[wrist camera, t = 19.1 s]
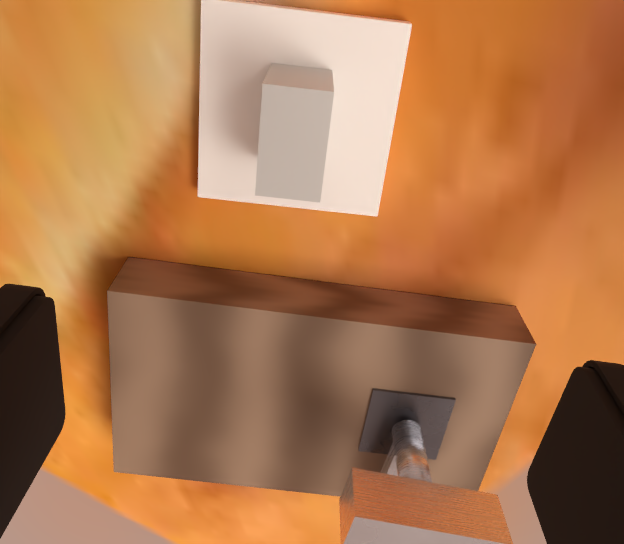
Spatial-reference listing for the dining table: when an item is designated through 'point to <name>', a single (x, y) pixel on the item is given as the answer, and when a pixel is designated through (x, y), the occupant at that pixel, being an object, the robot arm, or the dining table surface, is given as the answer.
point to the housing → (302, 377)
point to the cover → (297, 105)
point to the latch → (415, 502)
